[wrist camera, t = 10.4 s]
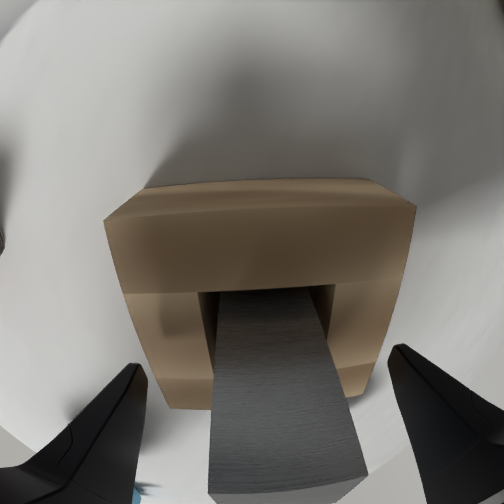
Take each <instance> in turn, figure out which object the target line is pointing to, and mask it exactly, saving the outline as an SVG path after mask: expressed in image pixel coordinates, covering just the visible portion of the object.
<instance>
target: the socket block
mask: <svg viewBox="0 0 504 504" xmlns="http://www.w3.org/2000/svg"><path fill="white" fill-rule="evenodd" d="M416 207H417V206H415V205H414V204H412V203H410V202H409V201H407V200H405V199H403V198H402V197H400V196H398V195H397V194H395V193H393V192H391V191H389V190H388V189H386V188H384V187H382V186H380V185H379V184H377V183H375V182H373V181H371V180H369V179H346V178H291V179H258V180H238V181H221V182H207V183H195V184H184V185H173V186H164V187H155V188H146V189H142V190H141V191H139V192H138V193H137V194H135V195H134V196H133V197H132V198H130V199H129V200H128V201H127V202H125V203H124V204H123V205H122V206H120V207H119V208H118V209H117V210H115V211H114V212H113V213H112V214H111V215H109V216H108V217H107V218H106V219H105V220H104V221H103V222H104V226H105V231H106V235H107V239H108V243H109V247H110V251H111V255H112V258H113V262H114V266H115V269H116V273H117V276H118V279H119V283H120V286H121V289H122V292H123V295H124V298H125V301H126V304H127V307H128V310H129V313H130V316H131V319H132V322H133V324H134V327H135V330H136V332H137V335H138V338H139V340H140V343H141V345H142V348H143V350H144V353H145V355H146V358H147V360H148V362H149V365H150V367H151V369H152V372H153V374H154V376H155V378H156V380H157V383H158V385H159V387H160V389H161V391H162V393H163V395H164V397H165V399H166V402H167V404H168V406H169V408H174V409H197V410H212V393H213V378H214V364H215V350H216V338H217V325H218V314H219V302H220V291H236V290H255V289H272V288H287V287H301V286H307V288H308V291H309V294H310V296H311V299H312V302H313V304H314V307H315V310H316V313H317V315H318V318H319V321H320V324H321V327H322V329H323V332H324V335H325V338H326V341H327V344H328V346H329V349H330V352H331V355H332V358H333V361H334V364H335V367H336V370H337V373H338V376H339V379H340V382H341V385H342V388H343V391H344V394H345V397H351V396H356V395H361V394H363V392H364V390H365V387H366V385H367V383H368V380H369V378H370V376H371V373H372V371H373V368H374V366H375V363H376V360H377V358H378V355H379V352H380V350H381V347H382V344H383V341H384V338H385V335H386V333H387V330H388V326H389V323H390V320H391V317H392V314H393V311H394V307H395V304H396V300H397V297H398V293H399V289H400V286H401V282H402V278H403V274H404V270H405V265H406V261H407V257H408V252H409V247H410V242H411V237H412V232H413V226H414V220H415V214H416Z"/></svg>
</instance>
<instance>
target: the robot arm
mask: <svg viewBox="0 0 504 504" xmlns="http://www.w3.org/2000/svg"><path fill="white" fill-rule="evenodd" d="M387 364H388V369H389V373H390V376H391V380H392V384H393V389H394V393H395V397H396V400H397V403H398V406H399V409H400V412H401V415H402V418H403V421H404V424H405V427H406V430H407V433H408V436H409V439H410V442H411V445H412V449H413V452H414V455H415V458H416V462H417V466H418V469H419V473H420V477H421V481H422V484H423V488H424V493H425V497H426V501H427V504H504V410H502V409H500V408H498V407H497V406H495V405H493V404H491V403H489V402H488V401H486V400H485V399H483V398H482V397H480V396H479V395H477V394H476V393H475V392H473V391H472V390H470V389H469V388H467V387H466V386H465V385H463V384H462V383H460V382H459V381H458V380H456V379H455V378H453V377H452V376H450V375H449V374H448V373H446V372H445V371H443V370H442V369H440V368H439V367H438V366H436V365H435V364H433V363H432V362H430V361H429V360H428V359H426V358H425V357H423V356H422V355H420V354H419V353H417V352H416V351H415V350H413V349H412V348H410V347H409V346H407V345H406V344H403V343H402V344H397V345H394V346H393V348H392V351H391V353H390V356H389V358H388V363H387ZM147 388H148V379H147V376H146V374H145V372H144V370H143V368H142V366H141V364H139V363H129V364H128V365H127V366H126V367H125V368H124V369H123V370H122V371H121V372H120V373H119V374H118V375H117V376H116V377H115V378H114V379H113V380H112V381H111V382H110V383H109V384H108V385H107V386H106V387H105V388H104V389H103V390H102V391H101V392H100V393H99V394H98V395H97V396H96V397H95V398H94V399H93V400H92V401H91V402H90V403H89V404H88V405H87V406H86V407H85V408H84V409H83V410H82V411H81V412H80V413H79V414H78V415H77V416H76V417H75V418H74V419H73V420H72V422H71V423H70V424H69V425H68V426H67V427H66V428H65V429H64V430H63V431H62V432H61V433H60V434H58V435H57V436H56V437H55V438H54V439H53V440H52V441H51V442H50V443H49V444H47V445H46V446H45V447H44V448H43V449H41V450H40V451H39V452H38V453H36V454H35V455H34V456H33V457H31V458H30V459H29V460H28V461H26V462H25V463H23V464H21V465H18V466H14V467H5V468H0V504H132V499H133V491H134V483H135V476H136V469H137V463H138V457H139V450H140V445H141V439H142V433H143V428H144V422H145V414H146V400H147Z"/></svg>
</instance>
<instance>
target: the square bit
mask: <svg viewBox="0 0 504 504" xmlns="http://www.w3.org/2000/svg"><path fill="white" fill-rule="evenodd" d="M367 476H368V471H367V467H366V464H365V460H364V457H363V453H362V450H361V446H360V443H359V440H358V436H357V433H356V430H355V426H354V423H353V420H352V416H351V413H350V410H349V407H348V404H347V401H346V397H345V394H344V391H343V388H342V385H341V382H340V379H339V376H338V373H337V370H336V367H335V364H334V361H333V358H332V355H331V352H330V349H329V346H328V344H327V341H326V338H325V335H324V332H323V329H322V327H321V324H320V321H319V318H318V315H317V313H316V310H315V307H314V304H313V302H312V299H311V296H310V294H309V291H308V288H307V286H301V287H287V288H272V289H255V290H236V291H220V302H219V314H218V325H217V338H216V350H215V364H214V378H213V393H212V410H211V428H210V448H209V472H208V494H209V495H210V497H211V498H212V499H213V500H214V501H215V502H216V503H217V504H331V503H336V502H337V501H338V500H340V499H341V498H342V497H343V496H345V495H346V494H347V493H348V492H350V491H351V490H352V489H353V488H354V487H356V486H357V485H358V484H359V483H360V482H361V481H363V480H364V479H365V478H366V477H367Z"/></svg>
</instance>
